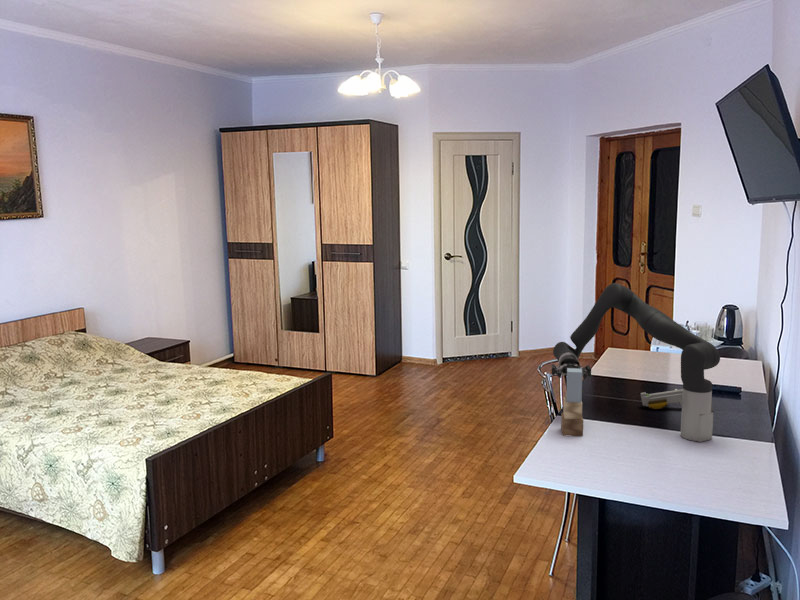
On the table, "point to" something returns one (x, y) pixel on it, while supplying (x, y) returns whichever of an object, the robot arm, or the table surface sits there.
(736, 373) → the table surface
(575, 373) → the slate block
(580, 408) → the beech block
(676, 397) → the toy
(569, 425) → the walnut block
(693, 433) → the robot arm
